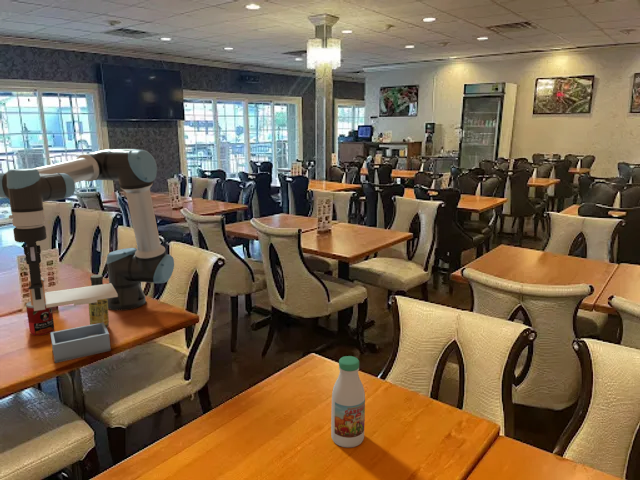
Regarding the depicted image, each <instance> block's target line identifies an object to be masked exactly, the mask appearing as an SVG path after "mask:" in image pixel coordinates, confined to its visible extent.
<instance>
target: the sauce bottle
mask: <svg viewBox="0 0 640 480" xmlns="http://www.w3.org/2000/svg"><path fill="white" fill-rule="evenodd" d="M89 279H90V282H91V283H90V284H91V285H90V286H94V285H101V284H104V281H103V280H104V276H103V274H94V275H93V274H92V275H91V276H90V278H89ZM88 314H89V315H88V316H89V325H92V324H97V323H102V322H104V324H105V326H106V328H107V329H108V327H109V322H110V321H109V308H108V300H107V299H100V300H97V302H95V303H89V304H88Z"/></svg>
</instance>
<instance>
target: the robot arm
mask: <svg viewBox="0 0 640 480" xmlns="http://www.w3.org/2000/svg"><path fill="white" fill-rule="evenodd" d="M157 167H158V166H157V162H156V159H155V158H154V156H153V155H152V154H151V153H150V152H149V151H147V150H145V149H138V148H107V149H106V148H105V149H101V150H96V151H92V152H88V153H86V154H80V155H79V156H77V158H76V159H71V160H68V161H62V162H58V163H57V162H56V163H53V164H49V165H43V166H39V167H38V166H37V167H34V168H12V169H9V170H7V171H6V172H0V198H1V199H2V198H3V199H8V200H9V206H10V212H11V213H10V215H8V218H9V219H10V220H12V227H13V226H14V228H13V236H14V237H13V238H14V241H15V242H16V243H20V244H22V243H26V246H23V254H24V256H25V261H26V264H27V265H28V270H29V278H30V279H31V287H29V286H28V288H27V289H28V290H29V289H31V291H32V298H33V306H34V311H38V310H44V309H45V302H44V294H43V285H42V282H41V277H42V275H41V274H42V273H41V268H40V264H41V262H42V259H41V252H42V249H41V245H38V244H37V242H42V241H44V240H46V239H47V238H48V237H47V229H46V225H44V224H46V219H45V212H44V211H45V210H44V203H46V202H50V201H56V200H57V201H58V200H64V199H67V198H70V197H72V196H73V195H74V193H75V191H76V183H79V182H82V181H85V182H93V181H113V182H118V183H119V184H118V185H119V189H120V190H122V191H123V192H125V195H126V201H127V205H128V209H129V215H130V218H131V223H132V228H133V233H134V237H135V238H134V239H135V242H136V246H137V247H129V248H128V247H127V248H122V249H117V250H114V251H111V252H109V253H108V254H107V255H106V267H107V274H108V275H107V276H108V284H109V283H111V284H112V285H113V287H114V289H115V290H116V292H117V294H118V297H113V298H107V300H108V310H111V311H126V310H127V311H128V310H129V311H130V310H132V309H133V310H134V309H136V308H140V307H143V306H144V305H145V304H146V303H147V301H146V299H147V298H146V295H145V293H144V290H143V289H142V286H141V283H152V284H164V283H165V284H166V282H168V281H169V280H170V278H171V277H172V275H173V272H174V269H175V260H174V257H173V256H172V255H171V254H167V250H166V248H165V246H164V245H162V244H161V240H160V235H159V229H158V225H157V220H156V216H155V215H156V214H155V208H154V204H153V199H152V193H151V188H152V186H153V184H154V181H155V180H156V178H157V174H158V173H157V172H158V168H157ZM44 282H45V278H43V283H44Z"/></svg>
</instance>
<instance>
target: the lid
mask: <svg viewBox="0 0 640 480" xmlns="http://www.w3.org/2000/svg"><path fill="white" fill-rule="evenodd" d="M27 279H28V287H31V279H30V277H28V278H27ZM43 279H44V278H43V276H41V282H42V285H43V294H44V302H45V304H46V308H49V307H52V308H55V307H62V306H67V305H72V304H73V306H74V307H76V306H81V305H87V304H88V305H89V303H95V302H97V300H100V299H107V298H113V297H118V294H117V292H116V290H115V289H114V287H113V285H112V284H111V283H109V282H108V283H103V284H101V285H94V286H92V285H88V286H81V287H75V288H68V289H67V288H66V289H61V290H60V289H59V290H53V291H45V283H44V282H43ZM28 290H29V297H30V301H31V306H33V298H32V291H31V289H29V288H28Z"/></svg>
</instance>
